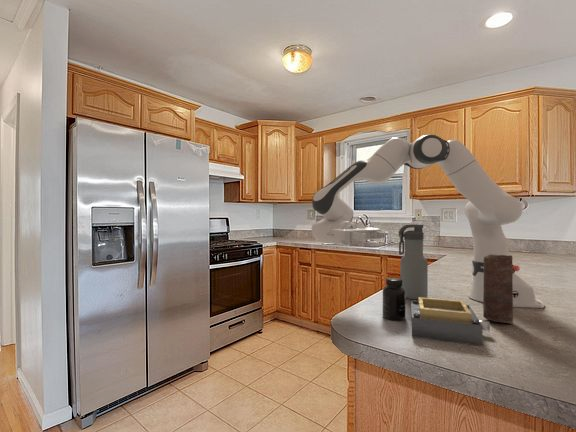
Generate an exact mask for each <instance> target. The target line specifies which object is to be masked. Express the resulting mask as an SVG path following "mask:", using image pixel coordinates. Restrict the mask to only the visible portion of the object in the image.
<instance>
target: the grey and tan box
mask: <svg viewBox="0 0 576 432" xmlns="http://www.w3.org/2000/svg"><path fill="white" fill-rule="evenodd" d="M410 302H411V303H410V309H411V310H410V312H411V313H410V318H411V319H410V320H411V325H410V326H411V337H414V338H420V339H430V340H437V341H444V342H451V343H458V344H459V343H460V344H466V345H473V346H481V347H482V346H483V331H490V330H491V325H490V320H481V319H479V318H478V317H477V315H476V314H475V312H474V311H473V310H474V309H472V307H471V306H470V305H468V304H466V303H465V301H464V300H453V299H445V298H444V299H443V298H433V297H432V298H431V297H427V298H422V297H418V300H414V299H412V301H410Z"/></svg>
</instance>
